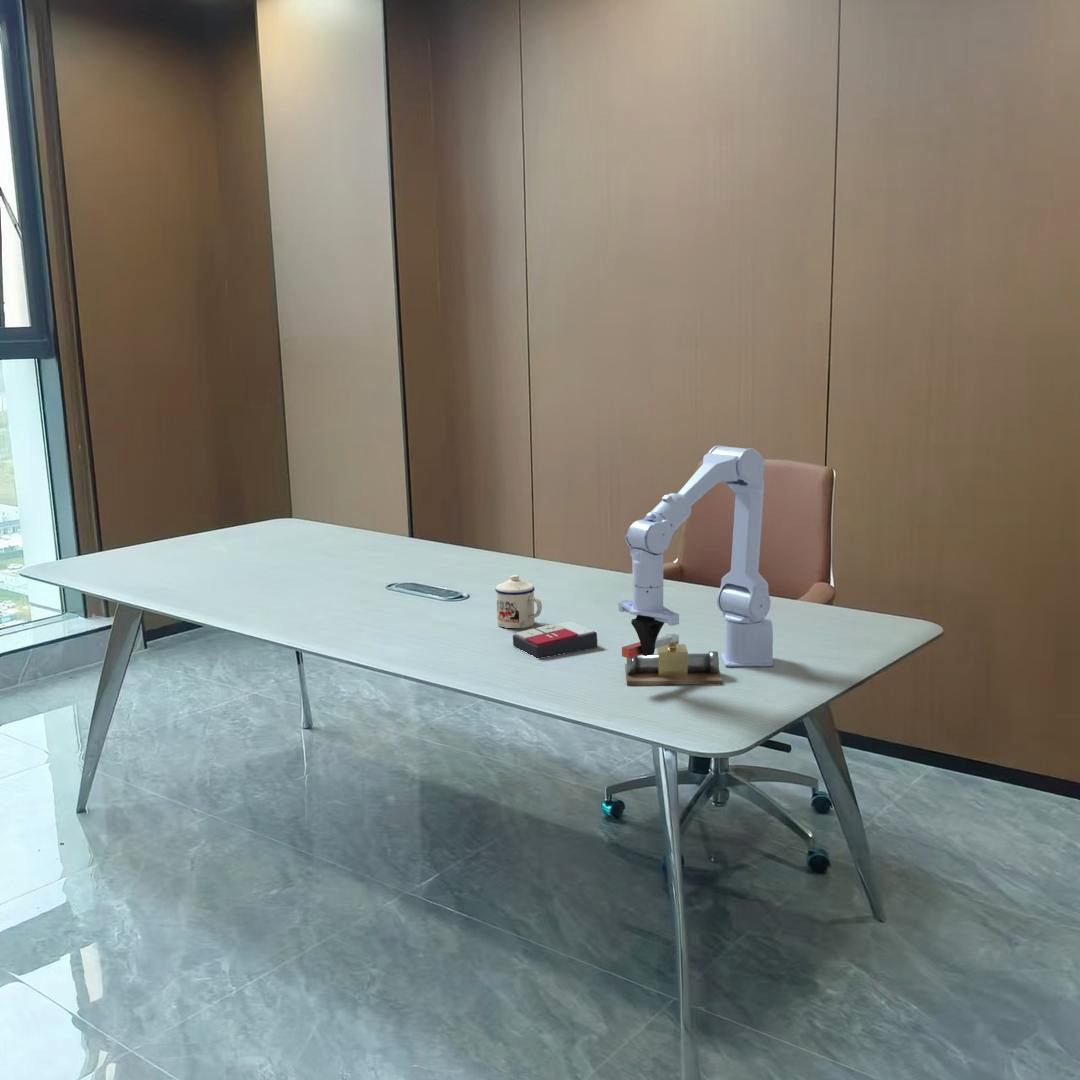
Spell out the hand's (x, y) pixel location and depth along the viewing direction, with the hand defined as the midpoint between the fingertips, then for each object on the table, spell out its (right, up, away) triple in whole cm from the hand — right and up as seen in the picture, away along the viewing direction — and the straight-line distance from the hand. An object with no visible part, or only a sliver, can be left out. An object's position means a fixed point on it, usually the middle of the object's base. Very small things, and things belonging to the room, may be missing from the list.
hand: (648, 654), depth 201 cm
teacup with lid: (-25, +2, +47) cm, 53 cm away
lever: (+1, +1, +3) cm, 3 cm away
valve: (+5, -5, +8) cm, 11 cm away
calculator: (-17, -2, +29) cm, 34 cm away
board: (+5, -5, +8) cm, 11 cm away
